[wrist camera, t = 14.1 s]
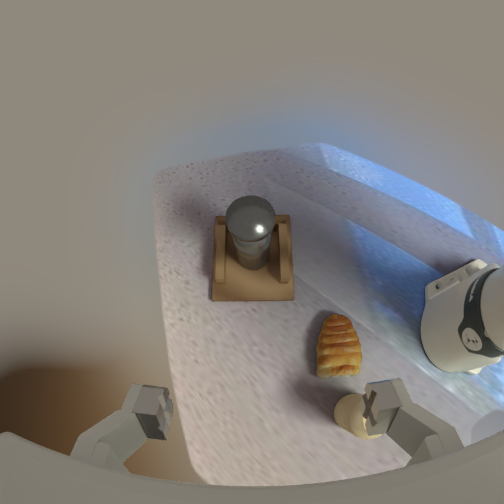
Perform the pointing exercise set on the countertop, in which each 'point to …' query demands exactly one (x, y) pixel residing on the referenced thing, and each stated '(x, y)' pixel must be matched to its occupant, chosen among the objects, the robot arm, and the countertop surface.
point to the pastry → (338, 348)
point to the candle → (352, 416)
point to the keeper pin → (251, 230)
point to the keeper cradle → (253, 281)
